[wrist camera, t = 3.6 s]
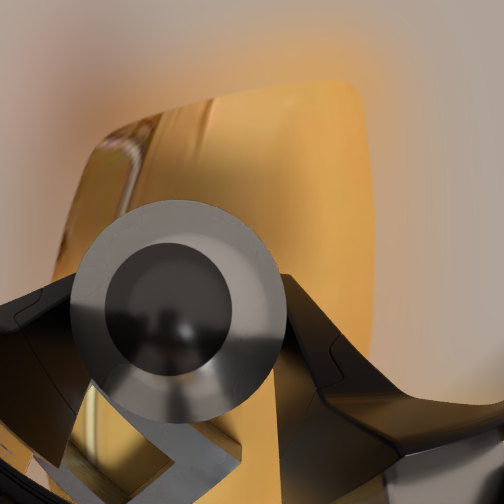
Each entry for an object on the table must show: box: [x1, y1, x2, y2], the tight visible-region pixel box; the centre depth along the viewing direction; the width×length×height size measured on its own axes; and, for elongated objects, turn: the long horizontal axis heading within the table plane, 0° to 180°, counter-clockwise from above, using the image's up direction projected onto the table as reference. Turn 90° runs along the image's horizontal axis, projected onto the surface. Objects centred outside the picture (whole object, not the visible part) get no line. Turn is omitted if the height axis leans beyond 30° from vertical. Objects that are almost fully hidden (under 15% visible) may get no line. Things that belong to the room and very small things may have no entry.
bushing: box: [70, 200, 287, 424], centre depth 11 cm, size 5×5×11 cm
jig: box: [33, 379, 242, 504], centre depth 12 cm, size 12×12×2 cm
